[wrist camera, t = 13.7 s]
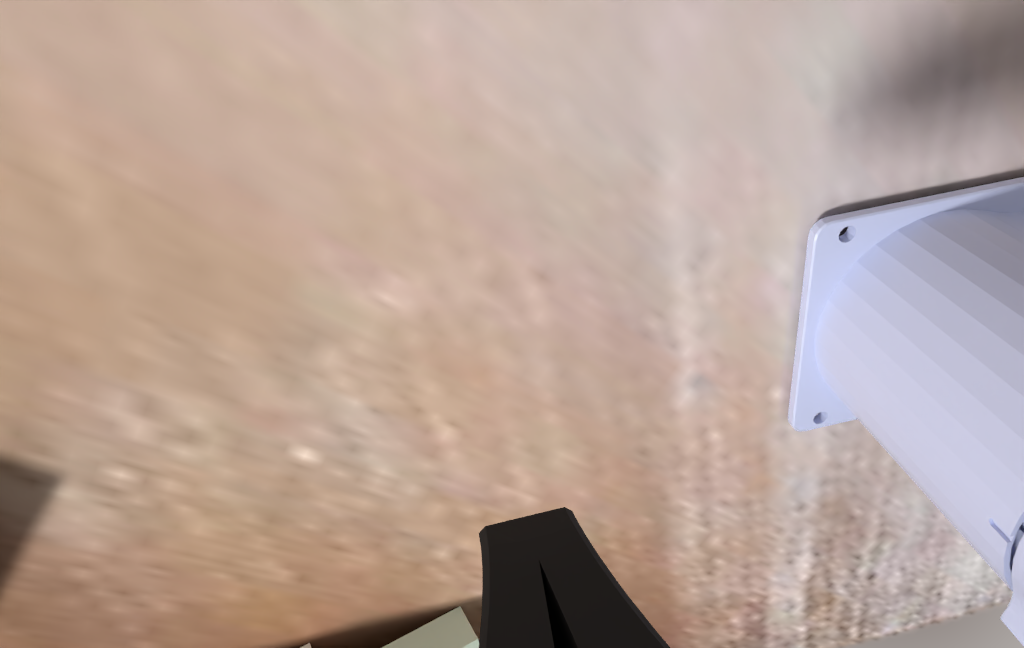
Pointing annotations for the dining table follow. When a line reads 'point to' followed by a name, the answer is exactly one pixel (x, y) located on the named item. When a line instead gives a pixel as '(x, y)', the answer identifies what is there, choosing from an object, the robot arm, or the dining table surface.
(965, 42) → the dining table surface
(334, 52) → the dining table surface
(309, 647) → the domino
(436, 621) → the sage domino
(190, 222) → the dining table surface
